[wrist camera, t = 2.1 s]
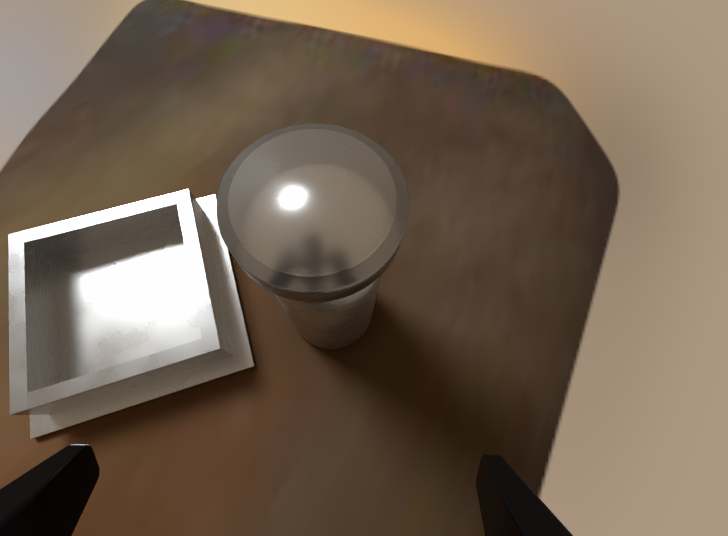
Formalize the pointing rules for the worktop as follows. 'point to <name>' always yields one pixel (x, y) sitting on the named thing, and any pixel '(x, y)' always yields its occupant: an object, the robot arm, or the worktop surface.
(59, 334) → the collar
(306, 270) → the lidded steel tumbler
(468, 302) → the worktop surface
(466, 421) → the worktop surface
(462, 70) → the worktop surface
